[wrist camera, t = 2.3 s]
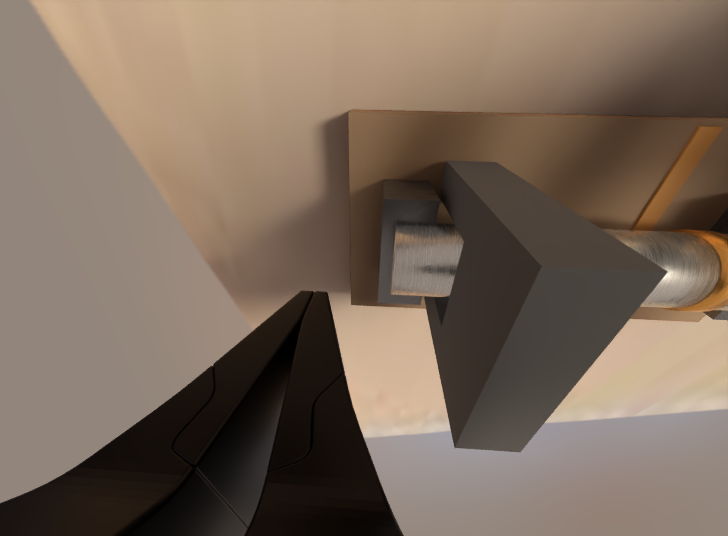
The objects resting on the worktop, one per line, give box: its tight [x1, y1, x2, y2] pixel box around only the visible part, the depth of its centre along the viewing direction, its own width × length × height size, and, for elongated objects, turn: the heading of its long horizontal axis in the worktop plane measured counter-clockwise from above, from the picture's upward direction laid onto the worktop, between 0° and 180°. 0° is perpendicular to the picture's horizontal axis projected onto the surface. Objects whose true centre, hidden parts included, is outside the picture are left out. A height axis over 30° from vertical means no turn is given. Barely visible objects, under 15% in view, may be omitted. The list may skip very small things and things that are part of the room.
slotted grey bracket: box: [424, 161, 668, 452], centre depth 9 cm, size 2×7×8 cm, turn 179°
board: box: [348, 110, 728, 322], centre depth 13 cm, size 20×10×2 cm, turn 89°
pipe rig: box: [378, 179, 728, 320], centre depth 11 cm, size 17×5×4 cm, turn 89°
